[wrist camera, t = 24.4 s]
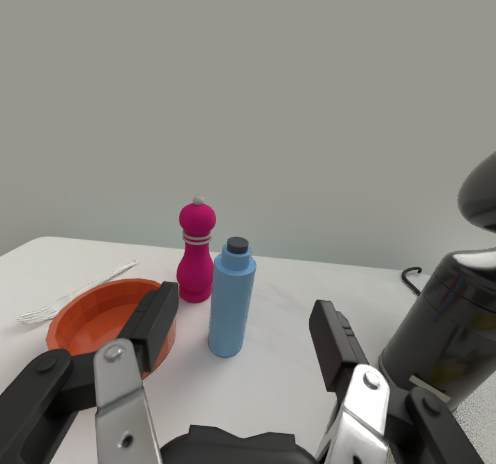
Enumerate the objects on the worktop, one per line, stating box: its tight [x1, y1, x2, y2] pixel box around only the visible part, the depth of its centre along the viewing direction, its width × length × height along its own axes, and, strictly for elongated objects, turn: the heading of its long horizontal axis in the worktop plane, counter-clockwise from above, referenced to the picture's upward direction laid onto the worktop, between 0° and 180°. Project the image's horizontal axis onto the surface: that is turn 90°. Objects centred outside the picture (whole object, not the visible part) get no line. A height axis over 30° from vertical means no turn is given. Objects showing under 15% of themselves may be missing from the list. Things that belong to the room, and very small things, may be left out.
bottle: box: [208, 237, 256, 357], centre depth 29 cm, size 5×5×18 cm
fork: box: [14, 260, 138, 324], centre depth 39 cm, size 3×20×2 cm, turn 157°
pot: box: [46, 278, 176, 380], centre depth 30 cm, size 15×15×6 cm
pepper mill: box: [176, 195, 216, 303], centre depth 38 cm, size 7×7×20 cm
